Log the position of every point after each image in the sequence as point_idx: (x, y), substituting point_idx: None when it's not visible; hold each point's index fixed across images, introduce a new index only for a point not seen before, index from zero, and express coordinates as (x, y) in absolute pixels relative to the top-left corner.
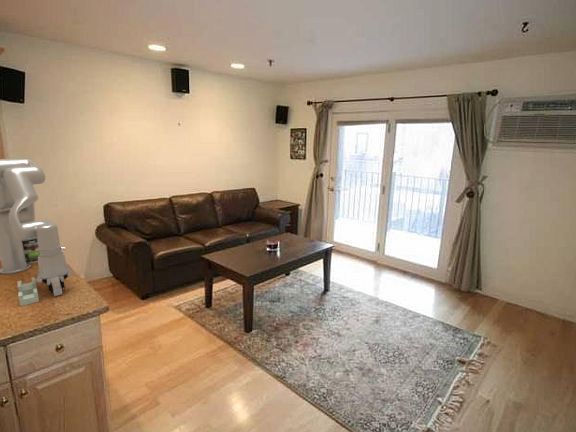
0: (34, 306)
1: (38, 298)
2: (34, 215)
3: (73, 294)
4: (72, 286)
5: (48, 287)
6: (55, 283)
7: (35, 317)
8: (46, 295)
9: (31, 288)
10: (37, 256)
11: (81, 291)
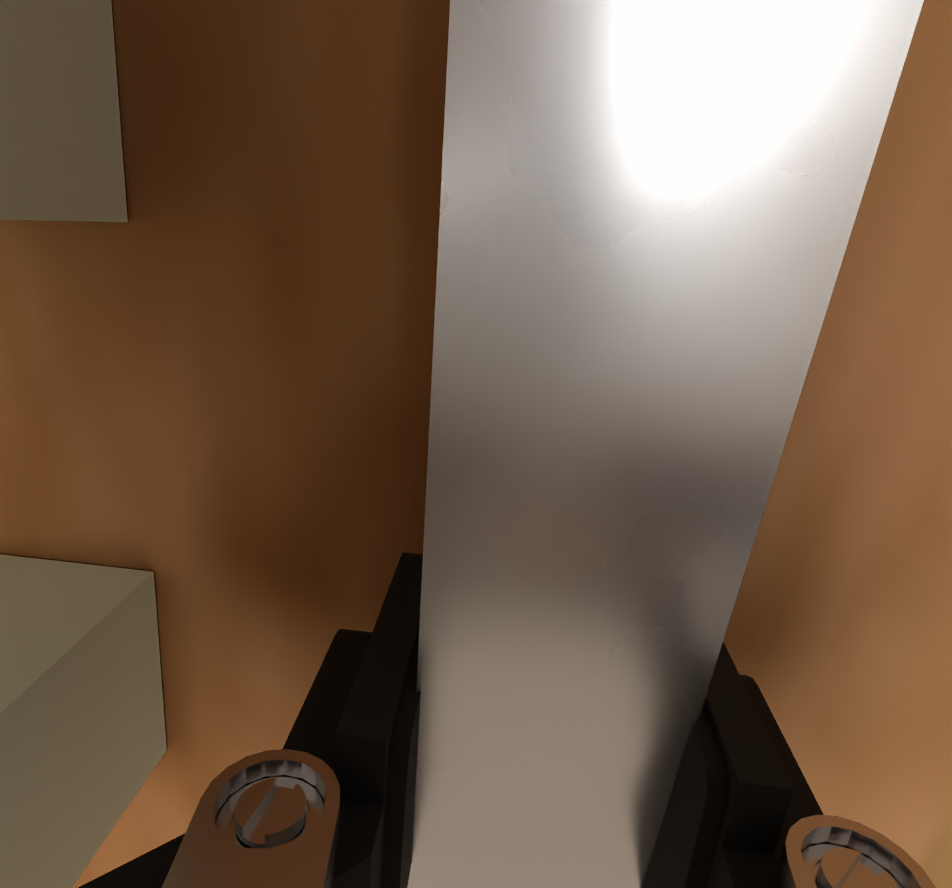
0: (98, 874)
1: (124, 806)
2: None
3: None
4: (946, 449)
5: (316, 699)
6: (537, 727)
7: None
8: (309, 560)
9: None
10: None
11: (945, 859)
